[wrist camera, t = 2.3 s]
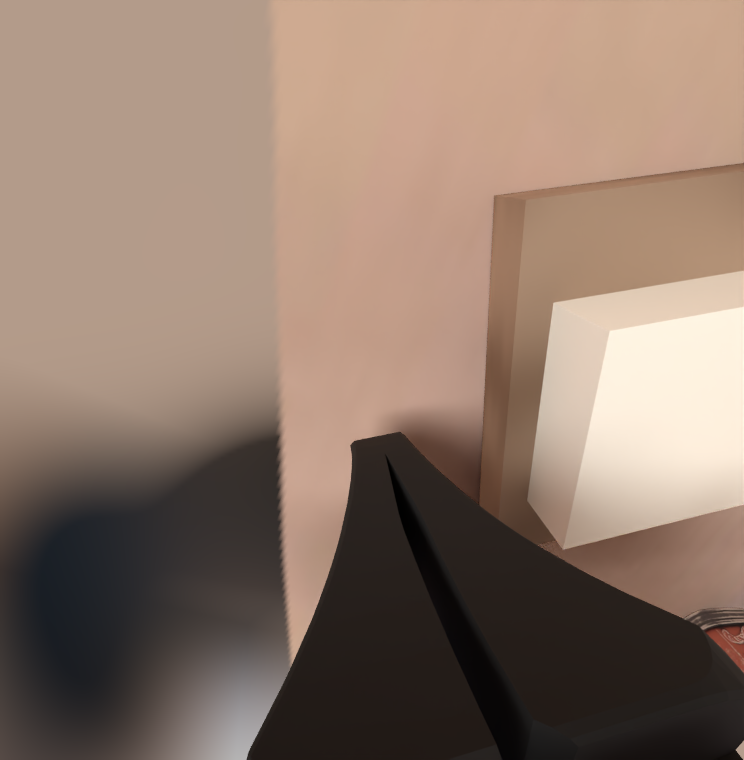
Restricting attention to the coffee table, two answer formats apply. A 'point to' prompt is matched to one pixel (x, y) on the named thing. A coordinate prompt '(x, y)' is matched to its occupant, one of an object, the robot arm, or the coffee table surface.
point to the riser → (584, 291)
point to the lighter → (724, 630)
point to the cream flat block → (641, 409)
